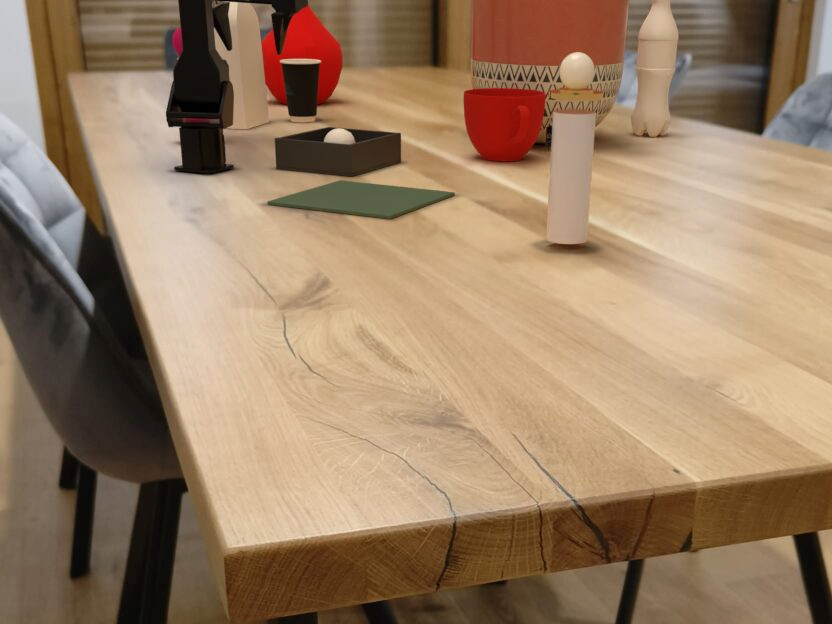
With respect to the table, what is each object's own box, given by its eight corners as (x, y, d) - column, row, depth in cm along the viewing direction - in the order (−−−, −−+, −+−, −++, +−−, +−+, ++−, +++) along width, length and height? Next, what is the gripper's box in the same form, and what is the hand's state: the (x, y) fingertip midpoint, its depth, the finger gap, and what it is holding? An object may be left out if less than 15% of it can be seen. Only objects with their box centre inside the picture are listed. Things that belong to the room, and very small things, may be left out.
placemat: (390, 219, 135) (390, 215, 135) (267, 204, 142) (267, 201, 142) (454, 195, 150) (455, 192, 150) (340, 183, 157) (340, 180, 157)
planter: (510, 127, 213) (516, -30, 201) (641, 138, 201) (655, -27, 189) (439, 143, 192) (441, -30, 181) (580, 157, 180) (592, -27, 168)
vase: (246, 105, 240) (237, -50, 227) (281, 96, 256) (274, -49, 242) (325, 109, 235) (320, -49, 222) (356, 100, 251) (353, -48, 238)
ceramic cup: (483, 170, 168) (485, 100, 164) (452, 153, 183) (453, 88, 178) (563, 167, 171) (567, 98, 167) (526, 151, 186) (529, 87, 181)
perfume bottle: (602, 246, 124) (616, 52, 115) (573, 254, 120) (586, 55, 111) (559, 238, 127) (570, 49, 118) (530, 246, 123) (539, 51, 114)
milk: (186, 126, 208) (173, -28, 196) (211, 119, 218) (201, -28, 206) (246, 129, 205) (236, -27, 194) (269, 122, 215) (261, -27, 204)
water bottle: (624, 135, 204) (636, -15, 193) (636, 131, 210) (649, -15, 199) (661, 138, 201) (676, -14, 190) (673, 134, 207) (688, -14, 196)
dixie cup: (330, 119, 220) (328, 59, 215) (310, 124, 213) (308, 62, 208) (295, 117, 222) (292, 58, 218) (274, 121, 216) (271, 60, 211)
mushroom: (361, 163, 170) (360, 129, 167) (332, 166, 167) (331, 131, 165) (347, 159, 173) (346, 125, 171) (318, 161, 171) (317, 127, 169)
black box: (351, 176, 162) (350, 145, 160) (276, 168, 167) (274, 138, 165) (401, 162, 174) (401, 132, 172) (329, 155, 179) (328, 126, 177)
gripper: (317, -57, 181) (324, 44, 190) (214, -62, 186) (226, 36, 195) (289, -44, 173) (298, 61, 182) (182, -50, 177) (196, 53, 187)
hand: (254, 52), depth 187 cm, fingers open, 9 cm apart
